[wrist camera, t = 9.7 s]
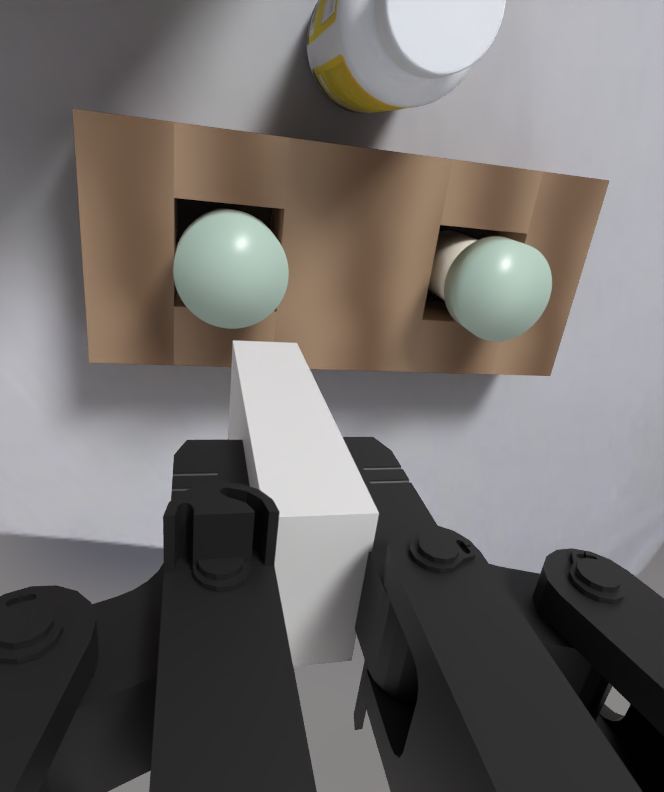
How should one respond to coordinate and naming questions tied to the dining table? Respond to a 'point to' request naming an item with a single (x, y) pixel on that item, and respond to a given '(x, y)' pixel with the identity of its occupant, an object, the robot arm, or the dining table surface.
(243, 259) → the knob
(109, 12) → the dining table surface
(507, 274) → the knob
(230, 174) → the mount
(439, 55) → the pill bottle
